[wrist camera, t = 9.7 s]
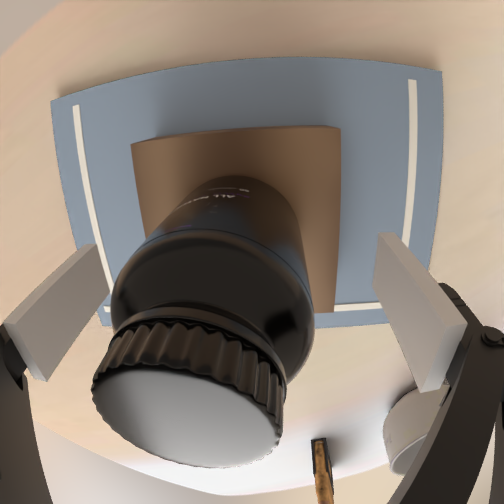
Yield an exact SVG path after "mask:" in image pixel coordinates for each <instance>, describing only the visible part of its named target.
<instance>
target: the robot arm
mask: <svg viewBox="0 0 504 504" xmlns="http://www.w3.org/2000/svg"><path fill="white" fill-rule="evenodd" d="M372 288H373V290H374V292H375V294H376V296H377V298H378V300H379V302H380V304H381V306H382V308H383V310H384V312H385V314H386V316H387V318H388V321H389V323H390V325H391V327H392V329H393V331H394V334H395V336H396V338H397V340H398V342H399V345H400V347H401V349H402V351H403V354H404V356H405V358H406V361H407V363H408V365H409V368H410V370H411V372H412V375H413V377H414V380H415V382H416V384H417V387H418V389H419V392H420V393H423V392H428V391H433V390H437V389H440V387H441V385H442V383H443V381H444V379H445V377H446V378H447V380H448V382H449V384H450V386H449V388H448V390H447V392H446V394H445V396H444V397H443V399H442V401H441V403H440V405H439V406H440V408H439V411H438V413H437V415H436V417H435V420H434V422H433V424H432V426H431V428H430V430H429V432H428V434H427V436H426V438H425V440H424V442H423V444H422V446H421V448H420V450H419V452H418V454H417V455H416V457H415V459H414V461H413V463H412V464H411V466H410V468H409V470H408V471H407V473H406V475H405V476H404V478H403V480H402V482H401V483H400V485H399V486H398V488H397V489H396V491H395V493H394V494H393V496H392V497H391V499H390V500H389V502H388V503H387V504H467V502H468V499H469V497H470V495H471V492H472V490H473V488H474V485H475V482H476V480H477V477H478V475H479V472H480V469H481V466H482V464H483V461H484V458H485V455H486V452H487V448H488V445H489V442H490V439H491V435H492V432H493V428H494V424H495V454H494V467H493V476H492V485H491V492H490V499H489V504H504V334H503V333H502V332H501V331H500V330H498V329H496V328H494V327H489V326H482V324H481V323H480V322H479V320H478V319H477V318H476V316H475V315H474V314H473V312H472V311H471V310H470V309H469V307H468V306H466V303H465V302H464V301H463V300H462V299H461V297H460V296H459V295H458V294H457V292H456V291H455V290H454V289H453V288H451V287H450V286H448V285H447V284H445V283H437V282H436V281H435V280H434V278H433V277H432V276H431V275H430V273H429V272H428V271H427V270H426V269H425V267H424V266H423V265H422V264H421V263H420V261H419V260H418V259H417V258H416V257H415V256H414V254H413V253H412V252H411V251H410V250H409V249H408V247H407V246H406V245H405V244H404V243H403V242H402V241H401V239H400V238H399V237H398V236H397V235H396V234H395V233H394V232H380V233H378V241H377V251H376V260H375V268H374V276H373V283H372ZM109 293H110V289H109V286H108V282H107V279H106V275H105V272H104V269H103V265H102V261H101V258H100V254H99V250H98V246H97V244H84V245H83V246H82V247H81V248H80V249H79V250H77V251H76V252H75V253H74V254H73V255H72V256H71V257H69V258H68V259H67V260H66V261H65V262H64V263H63V264H62V265H60V266H59V267H58V268H57V269H56V270H55V271H54V272H53V273H52V274H51V275H50V276H48V277H47V278H46V279H45V280H44V281H43V282H42V283H41V284H40V285H39V286H38V287H37V288H36V289H35V290H34V291H33V292H32V293H31V294H30V295H29V296H28V297H27V298H26V299H25V300H24V301H23V302H22V303H21V304H20V305H19V306H18V307H17V308H16V309H15V310H14V311H13V312H12V313H11V314H10V315H9V316H8V317H7V318H6V319H5V320H4V321H3V324H2V325H1V326H0V504H53V502H52V499H51V496H50V493H49V490H48V486H47V483H46V479H45V476H44V472H43V468H42V464H41V460H40V456H39V451H38V447H37V442H36V437H35V432H34V427H33V420H32V414H31V407H30V400H29V392H28V382H27V378H26V376H25V374H24V373H23V372H24V371H25V369H26V368H28V370H29V371H30V373H31V374H32V376H33V378H34V379H38V380H42V381H45V382H47V381H48V379H49V378H50V376H51V375H52V373H53V372H54V370H55V369H56V367H57V366H58V364H59V363H60V361H61V360H62V358H63V357H64V355H65V354H66V352H67V351H68V349H69V348H70V347H71V345H72V344H73V342H74V341H75V339H76V338H77V337H78V335H79V334H80V332H81V331H82V330H83V328H84V327H85V325H86V324H87V323H88V321H89V320H90V319H91V317H92V316H93V314H94V313H95V312H96V310H97V309H98V308H99V306H100V305H101V304H102V302H103V301H104V300H105V298H106V297H107V296H108V294H109Z"/></svg>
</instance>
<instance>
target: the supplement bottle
mask: <svg viewBox="0 0 504 504" xmlns="http://www.w3.org/2000/svg"><path fill="white" fill-rule="evenodd" d="M110 316H111V323H112V328H113V332H114V336H113V338H112V340H111V342H110V344H109V347H108V351H107V353H106V355H105V356H104V358H103V360H102V362H101V363H100V365H99V367H98V368H97V370H96V372H95V374H94V377H93V384H92V386H91V392H92V394H93V398H92V401H93V402H94V403H95V405H96V410H97V411H98V412H99V413H100V414H101V416H102V418H103V420H104V421H105V422H106V423H107V424H109V425H110V427H111V428H112V429H113V430H114V431H115V432H117V433H118V434H120V435H121V436H122V437H123V438H124V439H125V440H127V441H129V442H131V443H132V444H133V445H135V446H136V447H138V448H140V449H143V450H145V451H146V452H148V453H150V454H153V455H156V456H158V457H160V458H163V459H165V460H169V461H173V462H176V463H179V464H185V465H190V466H194V467H205V468H228V467H239V466H242V465H246V464H252V463H253V462H254V461H257V460H261V459H263V458H264V456H265V455H268V454H270V453H272V450H273V448H275V447H276V446H278V444H279V439H280V438H281V436H282V432H283V405H284V402H285V399H286V392H287V386H286V385H288V384H289V383H290V382H291V381H292V380H293V379H294V378H295V377H296V376H297V374H298V373H299V372H300V370H301V369H302V368H303V366H304V364H305V363H306V361H307V359H308V357H309V355H310V352H311V349H312V346H313V341H314V335H315V318H314V308H313V302H312V295H311V289H310V283H309V277H308V271H307V265H306V259H305V253H304V248H303V242H302V236H301V231H300V227H299V223H298V220H297V217H296V215H295V212H294V210H293V209H292V207H291V205H290V204H289V202H288V201H287V200H286V199H285V197H284V196H283V195H282V194H281V193H280V192H278V191H277V190H276V189H275V188H273V187H272V186H270V185H269V184H267V183H265V182H263V181H261V180H258V179H255V178H251V177H247V176H239V175H230V176H222V177H218V178H214V179H212V180H209V181H207V182H205V183H203V184H202V185H200V186H198V187H197V188H196V189H194V190H193V191H192V192H191V193H190V194H189V195H187V196H186V197H185V198H184V199H183V200H182V201H181V202H180V203H179V204H178V206H177V207H176V208H175V209H174V210H173V211H172V212H171V213H170V214H169V215H168V216H167V217H166V218H165V219H164V220H163V221H162V222H161V224H160V225H159V226H158V227H157V228H156V229H155V230H154V231H153V232H152V233H151V234H150V235H149V237H148V238H147V239H146V240H145V241H144V242H143V243H142V244H141V245H140V247H139V248H138V249H137V250H136V251H135V252H134V253H133V254H132V256H131V257H130V258H129V260H128V261H127V262H126V264H125V265H124V266H123V268H122V269H121V271H120V273H119V275H118V276H117V278H116V281H115V284H114V286H113V290H112V294H111V303H110Z"/></svg>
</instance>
